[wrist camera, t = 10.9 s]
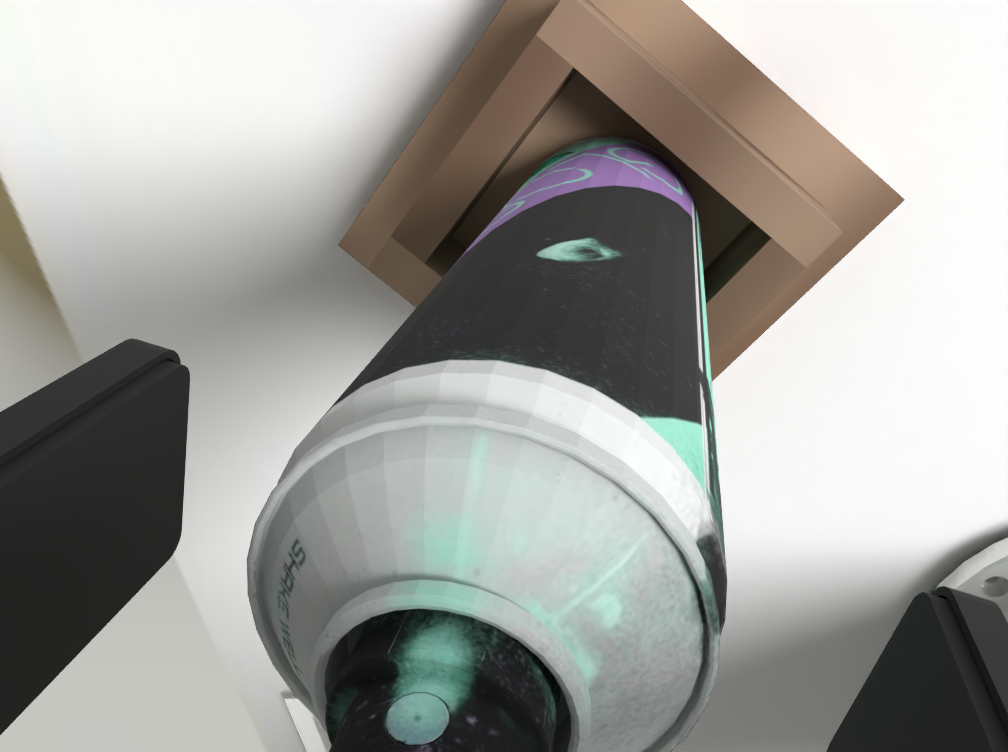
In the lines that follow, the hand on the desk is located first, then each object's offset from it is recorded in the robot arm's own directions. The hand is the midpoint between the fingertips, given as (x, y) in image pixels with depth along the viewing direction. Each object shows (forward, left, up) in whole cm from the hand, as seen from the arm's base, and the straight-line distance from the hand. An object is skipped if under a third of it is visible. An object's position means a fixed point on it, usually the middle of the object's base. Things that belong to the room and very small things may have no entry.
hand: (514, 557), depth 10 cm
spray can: (0, 0, -16) cm, 16 cm away
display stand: (0, 0, -18) cm, 18 cm away
